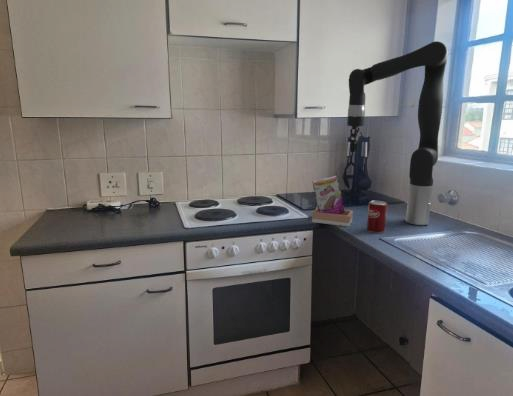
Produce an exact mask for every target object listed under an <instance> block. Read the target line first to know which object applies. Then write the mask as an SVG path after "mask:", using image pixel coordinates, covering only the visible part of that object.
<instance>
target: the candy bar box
mask: <svg viewBox="0 0 513 396" xmlns="http://www.w3.org/2000/svg"><path fill="white" fill-rule="evenodd" d="M312 186H313V187H312V188H313V191H314V196H315V201H316V205H317V206H316V207H318V211H319V212H321V213H330V214H342V213H345V211H344V210H345V207H344V202H343V196H342V192H341V187H340V182H339V177H338V175H334V176H333V175H332V176H329V177H325V178H319V179H314V180H312Z"/></svg>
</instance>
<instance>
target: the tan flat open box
mask: <svg viewBox="0 0 513 396" xmlns="http://www.w3.org/2000/svg"><path fill="white" fill-rule="evenodd" d="M344 211H345V213H342V214H330V213H321V212H319V211H318V206H316V208H314V209H313V211H312V216H311V222H312V223H315V224H316V223H317V224H318V223H319V224H324V225H325V224H326V225H331V226H340V225H341V226H343V227H348V226H349V227H350V225H351V224H350V223H352V222H353V215H354V214H353V213H354V211H353V210H350V209H344Z"/></svg>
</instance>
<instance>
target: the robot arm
mask: <svg viewBox="0 0 513 396" xmlns="http://www.w3.org/2000/svg"><path fill="white" fill-rule="evenodd" d="M448 58H449V49H448V47H447V46H446V45H445V43H443V42H442V41H437V40H436V41H432V42H430V43H428V44H426V45H424V46H422V47H420V48H418V49H416V50H413V51H411V52H409V53H406V54H403V55H401V56H396V57H393V58H390V59H386V60H383V61H381V62H377V63H375V64H372V66H370V67H366V68H364V69H361V68H355V69H353V70H352V71H351V72H350V74H349V76H348V90H349V99H348V108H347V120H346V121H347V122H346V125H347V126H348V127H351V128H350V130H349V133H350V135H349V143H350V147H349V151H350V153H354V152H356V151H357V150H358V142H359V140H360V133H361V130H360V127H364V126H365V115H366V93H365V86H366V85H370V84H372V83H375V82H376V81H380V80H384V79H387V78H392V77H393V76H396V75H400V74H401V73H403V72H405V71H408V70H412V69H414V68H418V67H419V68H420V67H424V79H423V85H422V88H421V90H420V95H419V99H418V106H417V107H418V109H417V121H418V129H419V141H418V148H417V149H415V150H414V151H413V152H412V154H411V157H410V163H409V175H408V176H409V186H408V187H409V188H408V196H407V204H406V205H407V207H406V215H405V222H406V223H408V224H410V225H411V224H412V225H416V226H425V225H426V226H428V225H429V221H430V212H431V206H432V205H431V204H432V203H431V201H432V193H433V186H434V185H433V184H434V179H433V170H434V169H433V167H434V166H435V165H436V163H437V162H438V160H439V132H440V127H441V122H442V121H441V119H442V113H443V112H442V111H443V105H444V104H443V103H444V79H445V77H444V76H445V71H446V67H447V66H446V65H447V62H448Z"/></svg>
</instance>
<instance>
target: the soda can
mask: <svg viewBox="0 0 513 396" xmlns="http://www.w3.org/2000/svg"><path fill="white" fill-rule="evenodd" d="M387 213H388V203H387V202H385V201H382V200H371V201H369V202H368V208H367V220H366V230H367V231H368V232H370V233H373V234H382V233H384V232H385V230H386V224H387Z"/></svg>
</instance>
